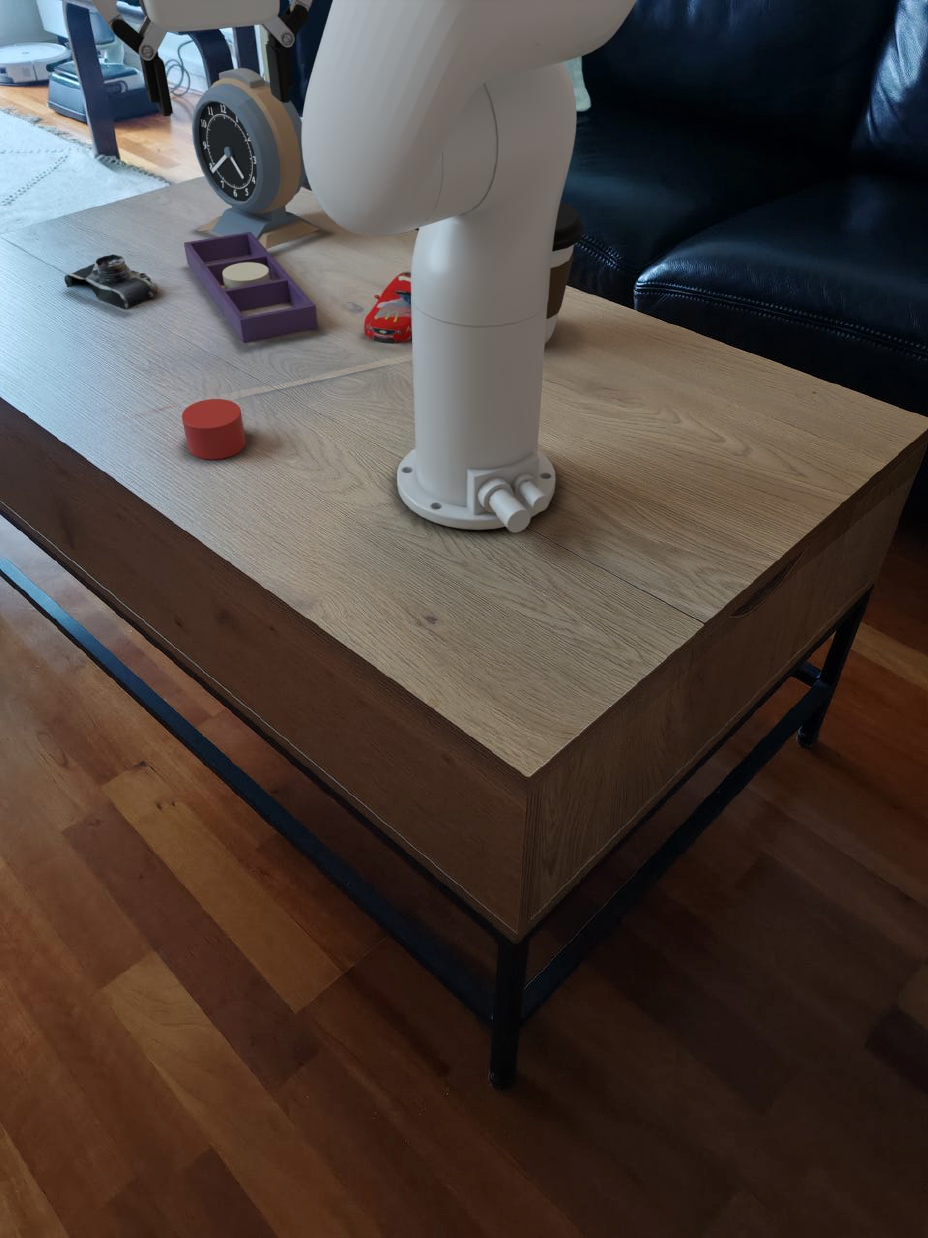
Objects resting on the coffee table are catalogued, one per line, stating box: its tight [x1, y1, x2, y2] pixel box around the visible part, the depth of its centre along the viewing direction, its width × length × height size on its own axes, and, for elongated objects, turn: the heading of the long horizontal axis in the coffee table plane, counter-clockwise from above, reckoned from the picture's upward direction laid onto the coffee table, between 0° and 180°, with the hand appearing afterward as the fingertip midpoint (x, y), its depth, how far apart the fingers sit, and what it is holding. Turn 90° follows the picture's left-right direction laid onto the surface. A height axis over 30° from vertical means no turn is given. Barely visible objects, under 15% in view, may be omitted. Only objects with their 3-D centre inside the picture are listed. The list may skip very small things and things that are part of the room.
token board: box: [183, 232, 319, 344], centre depth 103 cm, size 22×8×3 cm, turn 26°
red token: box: [181, 398, 247, 461], centre depth 81 cm, size 5×5×3 cm
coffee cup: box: [545, 201, 585, 344], centre depth 94 cm, size 11×11×12 cm
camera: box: [63, 253, 159, 310], centre depth 103 cm, size 5×10×4 cm, turn 53°
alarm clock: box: [191, 67, 320, 250], centre depth 112 cm, size 14×10×18 cm
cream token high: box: [222, 262, 271, 289], centre depth 102 cm, size 5×5×1 cm
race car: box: [363, 270, 412, 344], centre depth 99 cm, size 13×5×4 cm, turn 161°
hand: (224, 105), depth 80 cm, fingers open, 9 cm apart
